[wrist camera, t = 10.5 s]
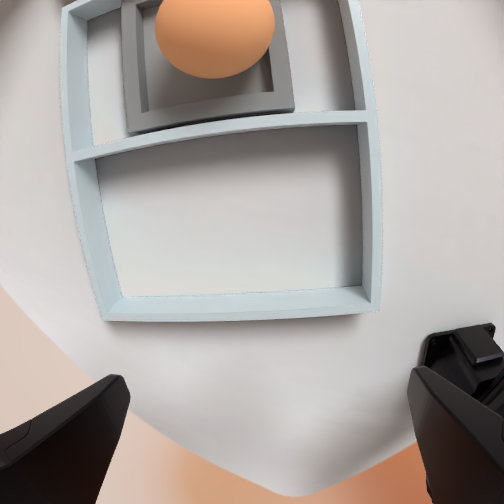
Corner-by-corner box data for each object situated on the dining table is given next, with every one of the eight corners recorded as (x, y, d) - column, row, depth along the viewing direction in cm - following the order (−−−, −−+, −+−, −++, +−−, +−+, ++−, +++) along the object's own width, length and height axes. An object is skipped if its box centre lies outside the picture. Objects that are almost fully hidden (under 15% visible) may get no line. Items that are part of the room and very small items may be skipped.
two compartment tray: (370, 293, 20) (379, 311, 18) (117, 304, 23) (102, 320, 20) (338, -34, 14) (344, -53, 11) (81, 17, 16) (61, 7, 14)
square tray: (294, 110, 17) (294, 107, 16) (138, 133, 18) (128, 132, 17) (274, -25, 14) (273, -36, 13) (131, 4, 16) (121, -3, 14)
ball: (256, 87, 18) (304, 60, 12) (154, 95, 16) (163, 63, 10) (245, 4, 16) (286, -42, 10) (149, 7, 14) (159, -48, 9)
